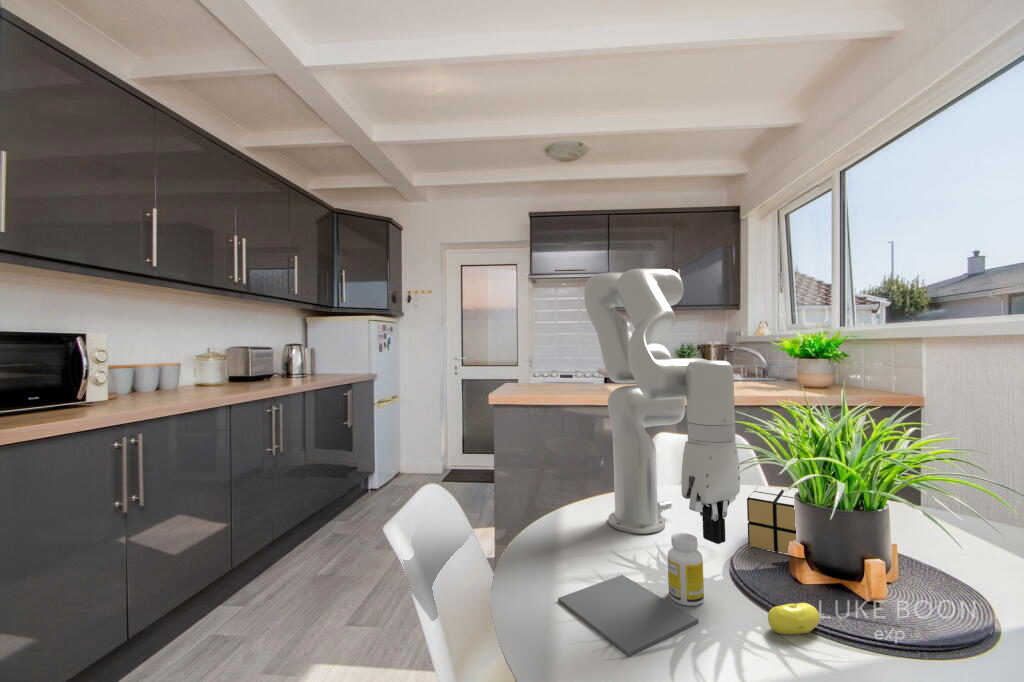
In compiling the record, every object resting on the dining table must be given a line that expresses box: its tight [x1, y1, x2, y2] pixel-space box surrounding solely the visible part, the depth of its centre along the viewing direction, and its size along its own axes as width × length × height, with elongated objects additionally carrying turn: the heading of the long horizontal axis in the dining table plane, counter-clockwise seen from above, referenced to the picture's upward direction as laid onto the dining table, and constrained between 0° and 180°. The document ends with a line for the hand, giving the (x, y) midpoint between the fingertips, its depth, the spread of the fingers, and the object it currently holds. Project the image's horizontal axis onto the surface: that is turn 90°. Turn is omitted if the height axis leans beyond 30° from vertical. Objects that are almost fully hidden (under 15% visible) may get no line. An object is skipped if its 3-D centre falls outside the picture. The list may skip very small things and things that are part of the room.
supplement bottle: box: [667, 532, 705, 607], centre depth 76 cm, size 5×5×10 cm
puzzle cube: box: [746, 485, 797, 553], centre depth 95 cm, size 10×10×10 cm
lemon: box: [767, 602, 821, 635], centre depth 67 cm, size 4×8×4 cm, turn 98°
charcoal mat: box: [557, 574, 699, 657], centre depth 73 cm, size 14×16×1 cm
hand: (714, 540), depth 80 cm, fingers closed
